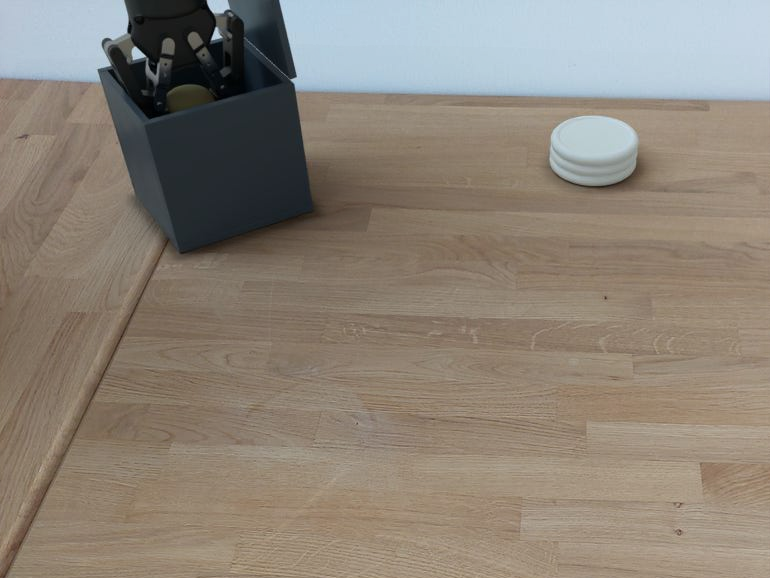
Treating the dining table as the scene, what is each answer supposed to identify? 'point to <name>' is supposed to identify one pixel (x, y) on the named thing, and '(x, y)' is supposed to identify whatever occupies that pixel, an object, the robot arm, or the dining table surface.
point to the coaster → (593, 150)
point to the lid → (266, 31)
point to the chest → (215, 153)
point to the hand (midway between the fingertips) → (197, 135)
